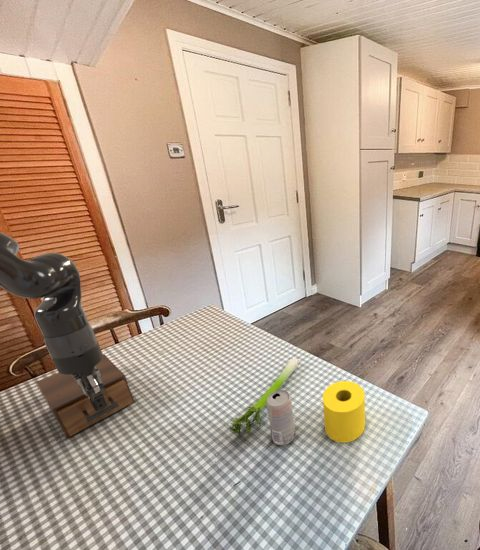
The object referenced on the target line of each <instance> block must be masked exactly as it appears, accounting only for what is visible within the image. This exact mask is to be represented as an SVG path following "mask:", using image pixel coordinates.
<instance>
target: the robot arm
mask: <svg viewBox="0 0 480 550" xmlns="http://www.w3.org/2000/svg"><path fill="white" fill-rule="evenodd" d="M19 251H20V244H19V243H18V241H17V240H16V239H14V238H13V237H11V236H9V235H7V234H5V233H3V232H2V231H0V287H1V289H3V290H4V291H6V292H8V293H9V294H12V295H13V296H17V297H20V298H23V299H30V300H31V299H33V300H37V299H42V301H41V303H40V304H39V305H38V306H37V307H36V308H35V309H34V312H33V314H34V319H35V322H36V324H37V325H38V328H39V330H40V333H41V335H42V337H43V340H44V341H43V342H44V345H45V347H46V349H47V351H48V354H49V356H50V358H51V360H52V363H53V364H54V366H55V368H56V370H57V372H58V373H61V374H64V375H70V374H72V376H73V378H74V379H75V380H76V382H77V383H78V385H79V387H80V389H81V390H82V391H83V393H84V394H85V395H86V396H87V397H88V399H89V400H90V402H91V404H92V406H93V408H94V410H95V411H99V410H101V409H103V408H105V407H106V406H107V404H106V401H105V399H104V396H105V387H104V386H105V385H104V384H103V383H102V381H101V378H100V376H101V374H100V371H99V370H98V369H96V367H95V366H96V365H97V364H98V363H99V362H100V361H101V360H102V358H103V355H104V354H103V350H102V348H101V346H100V344H99V341H98V338H97V336H96V333H95V331H94V329H93V327H92V326H91V324H90V323H89V319H88V318H87V314H86V312H85V310H84V307H83V305H82V283H81V275H80V272H79V269H78V267H77V265H76V264H75V263H74V261H72V259H70V258H69V257H68V256H66V255H64V254H62V253H57V252H47V253H43V254H39V255H37V256H35V257H32V258H30V259H27V260H25V259H22V258H20V257H18V256H17V255H18V253H19Z"/></svg>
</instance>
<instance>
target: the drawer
mask: <svg viewBox="0 0 480 550" xmlns="http://www.w3.org/2000/svg"><path fill="white" fill-rule="evenodd" d="M104 399H105V401H106V404H107V406H106V407H105V408H103V409H101V410H99V411H95V410H94V408H93V406H92V404H91V402H90V400H89V399H88V397H85V398H83V399H81V400H79V401H77V402H75V403H73V404H71V405H68V406H66V407H63V408H61V409H59V410H58V411H57V413H58V415H59V417H60V419H61V420H62V422H63V424H64V426H65V428H66V430H67V432H68V434H69V436H70V437H72V436H74V435H76V434H78V433H80V432H82V431H83V430H85V429H87V428H89V427H91V426H92V425H95V424H96V423H98V422H100V421H102V420H103V418H104V419H105V418H108V417H109V416H111V415H113V414H115V413H117V412H118V411H120V410H122V409H124V408H126V407H128V406H130V405H131V404H133V403H134V402H133V401H132V399H131V396H130V394H129V391H128V388H127V386H126V383H125V381H124V380H121V381H117V382H115V383H113V384H111V385H110V386H108V387H106V388H105V396H104ZM129 404H130V405H129ZM127 405H128V406H127ZM125 406H126V407H125ZM116 411H117V412H116ZM114 412H115V413H114ZM112 413H113V414H112ZM101 419H102V420H101ZM99 420H100V421H99ZM90 425H91V426H90ZM88 426H89V427H88ZM86 427H87V428H86ZM77 432H78V433H77ZM75 433H76V434H75ZM73 434H74V435H73Z"/></svg>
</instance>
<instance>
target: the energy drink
mask: <svg viewBox="0 0 480 550" xmlns="http://www.w3.org/2000/svg"><path fill="white" fill-rule="evenodd" d="M292 402H293V401H292V397H291V395H290V393H289V391H287V390H285V389H279V390H277V391H274V392H272V393H271V394H270V395H269V396H268V398H267V404H266V409H267V415H268V419H269V420H268V421H269V427H270V432H271V439H272V442H273V443H274V444H275V445H277V446H286V445H288V444H290V443H291V442H292V441H294V439H295V437H296V427H295V419H294V409H293V403H292Z"/></svg>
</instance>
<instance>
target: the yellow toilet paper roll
mask: <svg viewBox="0 0 480 550" xmlns="http://www.w3.org/2000/svg"><path fill="white" fill-rule="evenodd" d="M365 399H366V394H365V390H364V388H363V387H362V386H361V385H360V384H358V383H356V382H354V381H351V380H340V381H336V382H333V383H331V384H330V385H328V386H327V387H326V388H325V390H324V391H323V393H322V406H323V407H322V409H323V410H322V411H323V423H324V430H325V431H324V432H325V434H326V436H328V438H329V439H330V440H332V441H334V442H336V443H350V442H351V443H352V442H354V441H356V440H357V439H359V438H360V437H361V436H362V434H363V433H364V431H365V429H366V400H365Z"/></svg>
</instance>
